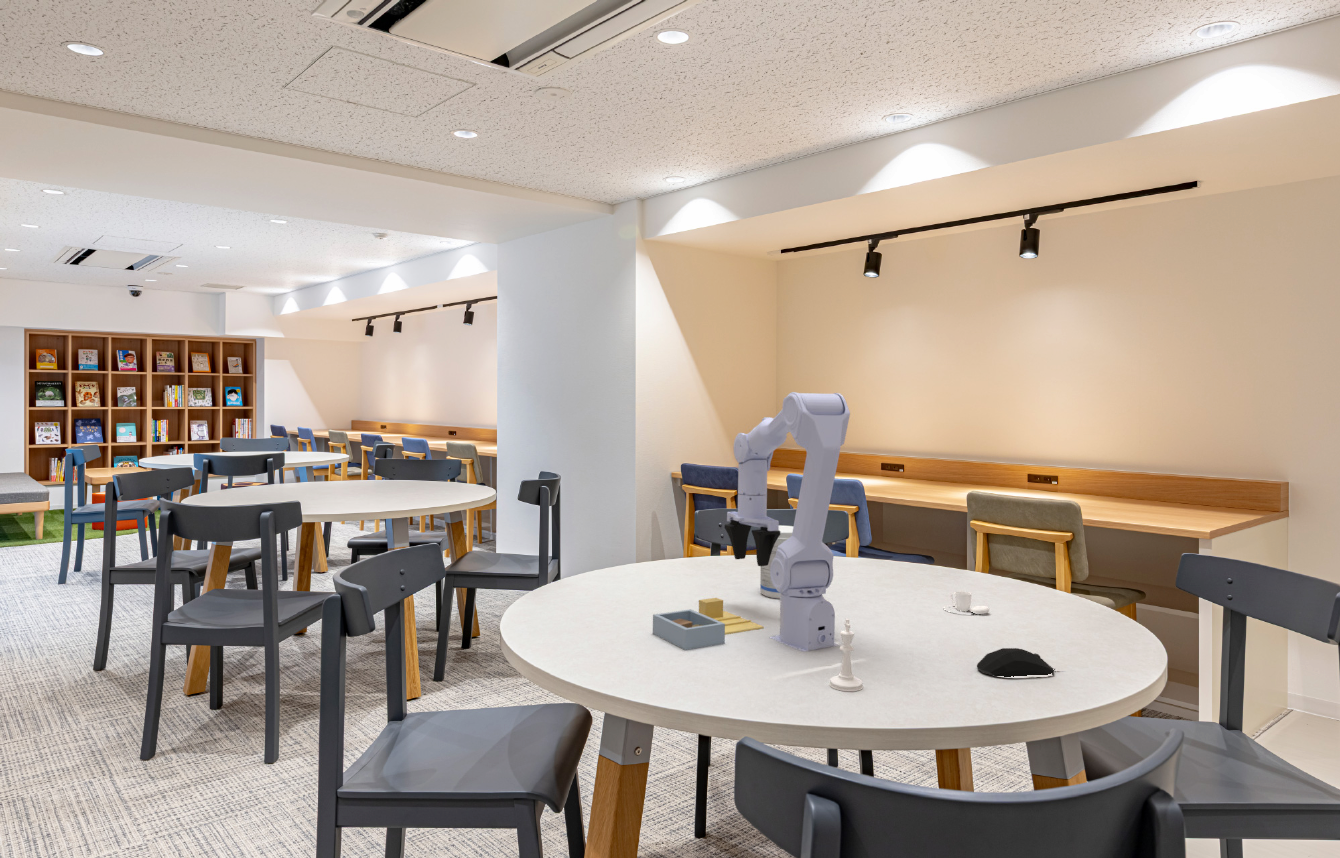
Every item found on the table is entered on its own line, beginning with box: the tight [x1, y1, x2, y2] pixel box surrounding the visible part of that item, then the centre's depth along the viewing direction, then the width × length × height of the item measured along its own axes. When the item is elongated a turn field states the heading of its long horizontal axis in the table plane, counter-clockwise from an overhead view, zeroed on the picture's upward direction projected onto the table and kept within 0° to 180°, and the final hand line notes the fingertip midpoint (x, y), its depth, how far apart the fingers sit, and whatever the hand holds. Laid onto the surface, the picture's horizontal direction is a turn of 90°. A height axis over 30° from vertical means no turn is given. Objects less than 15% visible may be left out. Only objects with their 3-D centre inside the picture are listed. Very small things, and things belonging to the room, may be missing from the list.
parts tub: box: [652, 609, 726, 651], centre depth 141 cm, size 11×8×4 cm
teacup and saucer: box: [942, 590, 990, 615], centre depth 165 cm, size 9×8×4 cm
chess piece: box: [828, 618, 864, 693], centre depth 120 cm, size 5×5×10 cm
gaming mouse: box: [976, 647, 1054, 677], centre depth 127 cm, size 6×15×4 cm, turn 95°
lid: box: [698, 597, 764, 636], centre depth 151 cm, size 13×10×4 cm
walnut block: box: [673, 619, 692, 628], centre depth 141 cm, size 3×3×3 cm
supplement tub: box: [759, 525, 794, 600], centre depth 177 cm, size 10×10×15 cm
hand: (751, 562), depth 160 cm, fingers open, 7 cm apart
